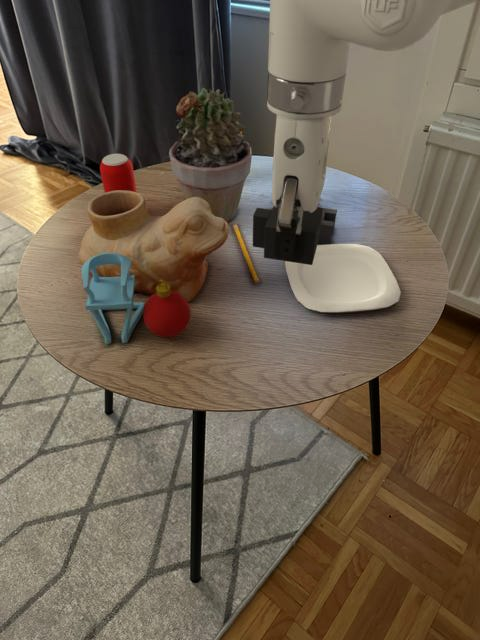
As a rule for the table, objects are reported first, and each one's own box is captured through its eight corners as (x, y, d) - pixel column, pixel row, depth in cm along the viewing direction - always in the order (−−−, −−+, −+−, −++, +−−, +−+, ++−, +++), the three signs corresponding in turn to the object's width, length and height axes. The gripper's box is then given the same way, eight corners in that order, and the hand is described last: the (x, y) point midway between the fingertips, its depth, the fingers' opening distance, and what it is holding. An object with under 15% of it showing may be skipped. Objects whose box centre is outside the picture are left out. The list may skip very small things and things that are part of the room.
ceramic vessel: (218, 313, 78) (215, 234, 67) (69, 288, 82) (45, 211, 72) (238, 262, 88) (238, 187, 77) (104, 243, 92) (87, 168, 81)
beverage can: (104, 220, 97) (92, 164, 89) (116, 205, 102) (106, 150, 94) (133, 224, 96) (123, 167, 88) (144, 208, 101) (136, 153, 93)
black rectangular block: (319, 238, 63) (323, 207, 60) (312, 265, 58) (315, 233, 55) (259, 229, 64) (260, 199, 61) (248, 255, 60) (248, 224, 57)
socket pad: (333, 229, 95) (337, 209, 92) (329, 246, 91) (333, 226, 88) (303, 225, 97) (306, 205, 94) (298, 241, 92) (300, 221, 89)
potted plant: (261, 188, 107) (265, 66, 90) (253, 238, 93) (257, 104, 76) (180, 183, 109) (170, 62, 91) (161, 232, 95) (144, 100, 77)
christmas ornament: (136, 336, 74) (126, 285, 67) (164, 309, 78) (157, 259, 72) (174, 353, 72) (167, 303, 65) (201, 324, 76) (197, 274, 69)
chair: (90, 345, 73) (71, 284, 64) (97, 308, 79) (80, 247, 70) (142, 342, 73) (130, 280, 65) (145, 305, 79) (134, 245, 71)
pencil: (236, 225, 96) (236, 222, 96) (258, 282, 84) (259, 279, 83) (232, 226, 96) (232, 223, 96) (254, 283, 83) (254, 279, 83)
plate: (373, 248, 91) (375, 240, 90) (408, 313, 78) (411, 305, 77) (278, 254, 89) (279, 246, 88) (298, 322, 76) (299, 314, 75)
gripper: (332, 128, 41) (312, 290, 54) (351, 67, 53) (331, 211, 66) (247, 120, 43) (246, 279, 55) (284, 62, 55) (277, 204, 67)
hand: (292, 241), depth 60 cm, fingers closed on black rectangular block, 6 cm apart
